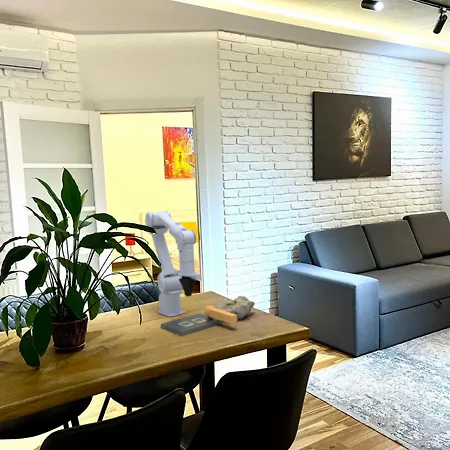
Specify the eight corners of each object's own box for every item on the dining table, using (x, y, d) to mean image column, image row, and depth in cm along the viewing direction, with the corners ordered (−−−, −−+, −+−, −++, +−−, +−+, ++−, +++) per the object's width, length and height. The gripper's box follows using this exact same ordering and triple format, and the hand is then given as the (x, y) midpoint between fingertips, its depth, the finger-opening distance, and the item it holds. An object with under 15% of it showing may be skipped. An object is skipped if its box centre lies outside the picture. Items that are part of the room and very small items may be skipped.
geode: (214, 333, 183) (249, 329, 178) (206, 314, 179) (242, 310, 174) (224, 307, 197) (257, 303, 192) (217, 289, 194) (251, 284, 188)
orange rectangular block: (203, 315, 181) (203, 306, 180) (210, 313, 183) (210, 304, 183) (230, 324, 168) (230, 315, 168) (238, 322, 171) (238, 313, 170)
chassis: (160, 327, 175) (160, 322, 174) (200, 316, 187) (200, 311, 187) (181, 336, 165) (180, 330, 165) (221, 324, 177) (221, 318, 177)
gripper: (167, 261, 181) (169, 294, 183) (189, 264, 171) (191, 300, 172) (182, 258, 186) (183, 291, 187) (204, 262, 175) (206, 297, 176)
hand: (188, 295), depth 180 cm, fingers closed
